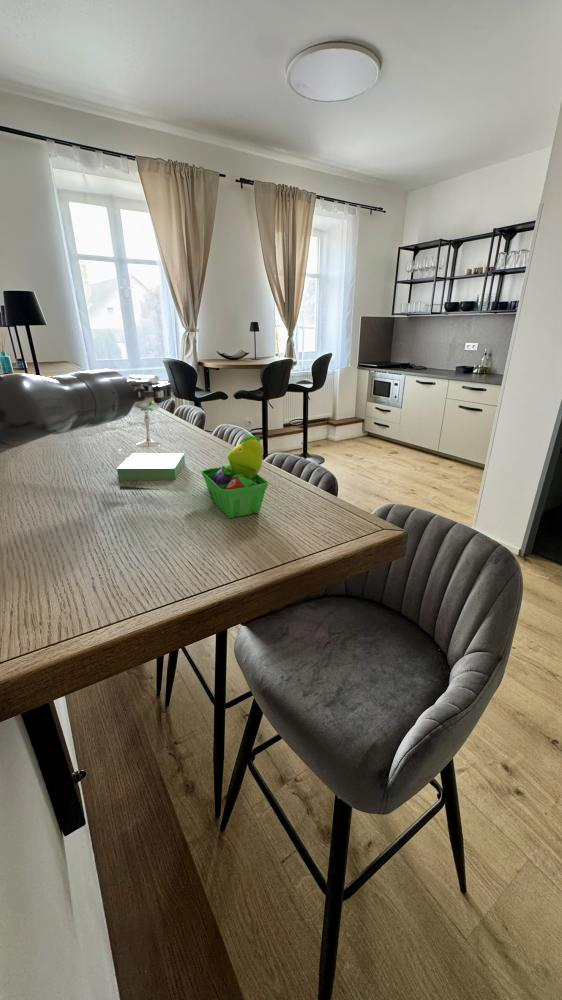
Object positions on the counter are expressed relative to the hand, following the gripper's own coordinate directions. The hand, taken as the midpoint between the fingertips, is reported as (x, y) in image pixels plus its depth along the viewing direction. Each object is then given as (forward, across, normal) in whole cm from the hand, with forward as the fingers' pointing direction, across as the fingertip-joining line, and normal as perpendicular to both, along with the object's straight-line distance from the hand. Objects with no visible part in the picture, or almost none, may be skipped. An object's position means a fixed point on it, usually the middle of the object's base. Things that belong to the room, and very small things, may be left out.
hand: (151, 386), depth 74 cm
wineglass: (-3, 0, +10) cm, 11 cm away
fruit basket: (-10, -19, +17) cm, 28 cm away
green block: (-2, 0, +17) cm, 17 cm away
